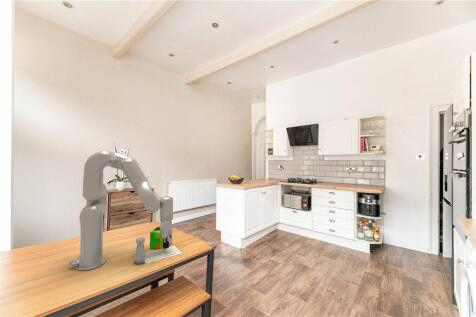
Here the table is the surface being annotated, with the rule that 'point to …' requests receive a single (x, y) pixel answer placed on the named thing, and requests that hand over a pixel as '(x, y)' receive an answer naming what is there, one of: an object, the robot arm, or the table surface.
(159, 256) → the letter
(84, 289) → the table surface
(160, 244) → the puzzle toy
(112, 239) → the table surface
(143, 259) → the salt shaker
